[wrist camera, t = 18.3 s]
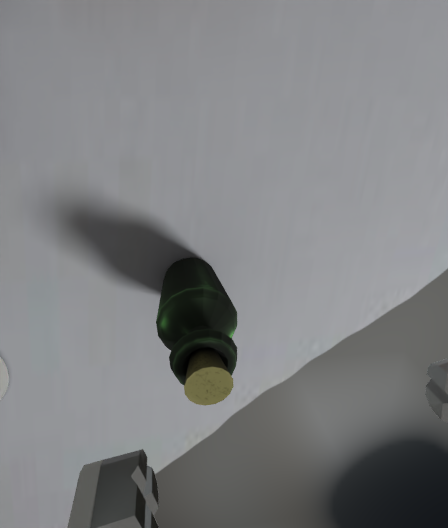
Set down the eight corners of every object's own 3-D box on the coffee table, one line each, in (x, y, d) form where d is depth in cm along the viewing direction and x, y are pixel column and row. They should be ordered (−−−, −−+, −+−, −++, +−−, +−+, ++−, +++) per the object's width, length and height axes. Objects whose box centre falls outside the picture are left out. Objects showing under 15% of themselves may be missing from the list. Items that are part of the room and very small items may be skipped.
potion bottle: (142, 277, 40) (131, 387, 24) (195, 237, 39) (220, 323, 23) (185, 319, 44) (199, 440, 28) (234, 283, 43) (279, 386, 27)
